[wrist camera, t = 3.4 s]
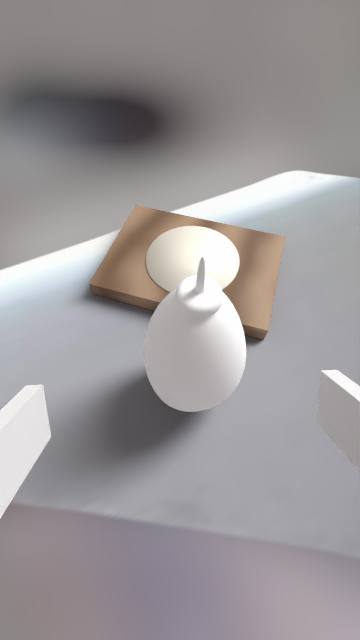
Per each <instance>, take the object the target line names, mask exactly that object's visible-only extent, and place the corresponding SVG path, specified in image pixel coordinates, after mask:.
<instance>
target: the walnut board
mask: <svg viewBox="0 0 360 640" xmlns="http://www.w3.org/2000/svg"><path fill="white" fill-rule="evenodd" d="M284 242H285V237H284V236H279V235H274V234H270V233H265V232H260V231H255V230H251V229H246V228H241V227H236V226H232V225H227V224H222V223H217V222H213V221H208V220H203V219H198V218H194V217H189V216H184V215H179V214H175V213H170V212H165V211H160V210H155V209H151V208H146V207H141V206H137V205H136V206H135V208H134V209H133V211H132V213H131V214H130V216H129V218H128V219H127V221H126V223H125V225H124V226H123V228H122V229H121V231H120V233H119V235H118V236H117V238H116V240H115V241H114V243H113V245H112V246H111V248H110V250H109V251H108V253H107V255H106V256H105V258H104V260H103V261H102V263H101V265H100V266H99V268H98V270H97V271H96V273H95V275H94V277H93V278H92V280H91V282H90V283H89V285H90V287H91V290H92V292H93V294H94V295H97V296H101V297H105V298H109V299H112V300H116V301H120V302H124V303H127V304H131V305H135V306H139V307H142V308H146V309H150V310H154V311H155V310H156V308H157V307H158V305H159V304H160V302H161V301H162V300H163V299H164V298H165V297H166V296H167V295H168V294H169V293H171V292H172V291H173V290H175V289H176V288H177V287H178V285H179V283H180V282H181V281H182V280H184V279H185V278H187V277H190V276H194V275H197V271H198V266H199V261H200V259H201V257H202V256H204V258H205V263H206V276H209V277H211V278H213V279H214V280H216V281H217V282H218V284H219V285H220V287H221V289H222V292H223V293H224V294H225V295H226V296H227V297H228V298H229V300H230V301H231V303H232V304H233V306H234V308H235V310H236V311H237V313H238V315H239V318H240V321H241V324H242V327H243V330H244V335H247V336H251V337H255V338H258V339H262V340H264V338H265V336H266V334H267V332H268V329H269V323H270V318H271V312H272V307H273V301H274V296H275V291H276V285H277V280H278V274H279V269H280V263H281V258H282V253H283V247H284Z"/></svg>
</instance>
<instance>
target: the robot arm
mask: <svg viewBox="0 0 360 640" xmlns="http://www.w3.org/2000/svg"><path fill="white" fill-rule="evenodd" d="M317 423H318V424H319V425H320V426H321V428H322V429H323V430H324V431H325V432H326V433H327V435H328V436H329V437H330V438H331V439H332V440H333V442H334V443H335V444H336V445H337V446H338V447H339V449H340V450H341V451H342V452H343V453H344V454H345V456H346V457H347V458H348V459H349V460H350V461H351V463H352V464H353V465H354V466H355V467H356V468H357V470H358V471H359V472H360V386H358V385H357V384H356V383H354V382H353V381H352V380H350V379H349V378H347V377H346V376H345V375H343V374H342V373H340V372H339V371H338V370H323V371H321V375H320V388H319V400H318V412H317ZM50 438H51V433H50V427H49V420H48V414H47V408H46V401H45V395H44V389H43V385H26V386H25V387H24V388H23V389H22V390H21V391H20V392H19V393H18V394H17V395H16V396H15V397H14V398H13V399H12V400H11V401H10V402H8V403H7V404H6V405H5V406H4V407H3V408H2V409H1V410H0V518H1V516H2V515H3V513H4V511H5V510H6V508H7V507H8V505H9V504H10V502H11V500H12V499H13V497H14V496H15V494H16V492H17V491H18V489H19V488H20V486H21V484H22V483H23V481H24V479H25V478H26V476H27V475H28V473H29V471H30V470H31V468H32V467H33V465H34V463H35V462H36V460H37V459H38V457H39V455H40V454H41V452H42V451H43V449H44V447H45V446H46V444H47V443H48V441H49V439H50Z"/></svg>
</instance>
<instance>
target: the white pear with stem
mask: <svg viewBox="0 0 360 640" xmlns="http://www.w3.org/2000/svg"><path fill="white" fill-rule="evenodd" d="M245 361H246V342H245V335H244V330H243V327H242V324H241V321H240V318H239V315H238V313H237V311H236V310H235V308H234V306H233V304H232V303H231V301H230V300H229V298H228V297H227V296H226V295H225V294H224V293H223V292H222V289H221V287H220V285H219V284H218V282H217V281H216V280H214V279H213V278H211V277H209V276H206V263H205V258H204V256H202V257H201V259H200V261H199V266H198V271H197V275H194V276H190V277H187V278H185V279H184V280H182V281H181V282H180V283H179V285H178V287H177V288H176V289H175V290H173V291H172V292H171V293H169V294H168V295H167V296H166V297H165V298H164V299H163V300H162V301H161V302H160V304H159V305H158V307H157V308H156V310H155V312H154V313H153V315H152V317H151V319H150V321H149V324H148V327H147V331H146V334H145V340H144V362H145V369H146V372H147V376H148V379H149V382H150V384H151V386H152V387H153V389H154V391H155V393H156V394H157V395H158V396H159V398H160V399H161V400H162V401H163V402H165V403H166V404H167V405H168V406H170V407H172V408H174V409H177V410H180V411H185V412H198V411H203V410H207V409H210V408H213V407H215V406H217V405H218V404H220V403H222V402H223V401H224V400H226V399H227V398H228V397H229V396H230V395H231V394H232V393H233V391H234V390H235V389H236V387H237V386H238V384H239V382H240V380H241V377H242V374H243V371H244V368H245Z"/></svg>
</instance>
